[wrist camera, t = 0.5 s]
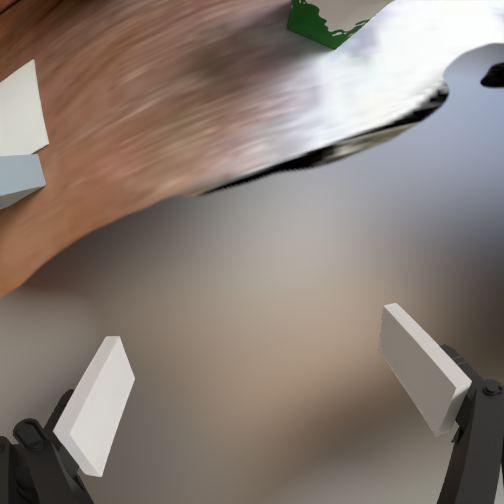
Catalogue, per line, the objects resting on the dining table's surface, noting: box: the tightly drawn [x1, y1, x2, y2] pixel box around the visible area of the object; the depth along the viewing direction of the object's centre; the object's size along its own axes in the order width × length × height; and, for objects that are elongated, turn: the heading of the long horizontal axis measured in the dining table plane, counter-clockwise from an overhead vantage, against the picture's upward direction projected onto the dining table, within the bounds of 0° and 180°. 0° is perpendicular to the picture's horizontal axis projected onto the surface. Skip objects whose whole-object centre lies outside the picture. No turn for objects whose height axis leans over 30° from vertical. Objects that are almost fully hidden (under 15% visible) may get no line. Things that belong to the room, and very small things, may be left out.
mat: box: [0, 59, 49, 156], centre depth 33 cm, size 15×14×1 cm
